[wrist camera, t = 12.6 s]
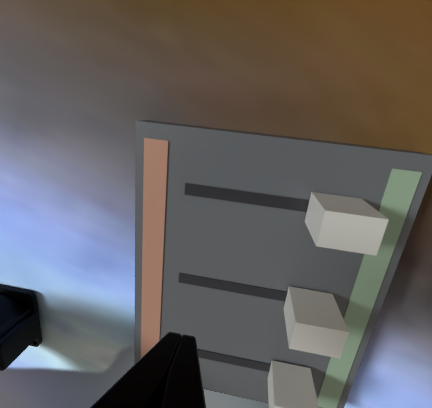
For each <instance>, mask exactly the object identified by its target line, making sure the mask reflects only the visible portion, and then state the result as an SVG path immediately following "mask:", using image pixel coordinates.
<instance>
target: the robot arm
mask: <svg viewBox="0 0 432 408" xmlns="http://www.w3.org/2000/svg"><path fill="white" fill-rule="evenodd" d="M41 343H42V336H41V329H40V322H39V315H38V308H37V300H36V295H35V293H34V292H32V291H28V290H23V289H18V288H13V287H8V286H3V285H0V370H1V371H3V370H5V369H6V368H7V367H8V366H9V365H10V364H11V363H12V362H13V361H14V360H15V359H16V358H17V357H18V356H19V355H20V354H21V353H22V352H23V351H24V350H25V349H26V348H27V347H28V346H29V345H30V346H35V347H38V346H39V345H40V344H41ZM90 408H206V405H205V398H204V391H203V384H202V377H201V370H200V363H199V357H198V350H197V343H196V338H195V336H190V335H185V334H184V335H181V334H180V333H174V332H168V333H167V334H166V335H165V336H164V337H163V338H162V339H161V340H160V341H159V342H158V343H157V344H156V345H155V346H154V347H153V348H151V349H150V350H149V351H148V352H147V353H146V354H145V355H144V356H143V357H142V358H141V359H140V360H139V361H138V362H137V363H136V364H135V365H134V366H133V367H132V368H131V369H130V370H129V371H128V372H127V373H126V374H125V375H123V377H121V378H120V380H118V381H117V382H116V383H115V384H114V385H113V386H112V387H111V388H110V389H109V390H108V391H107V392H106V393H105V394H104V395H103V396H102V397H101V398H100V399H99V400H98V401H97V402H96V403H94V404H93V405H92V406H91V407H90Z"/></svg>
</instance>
